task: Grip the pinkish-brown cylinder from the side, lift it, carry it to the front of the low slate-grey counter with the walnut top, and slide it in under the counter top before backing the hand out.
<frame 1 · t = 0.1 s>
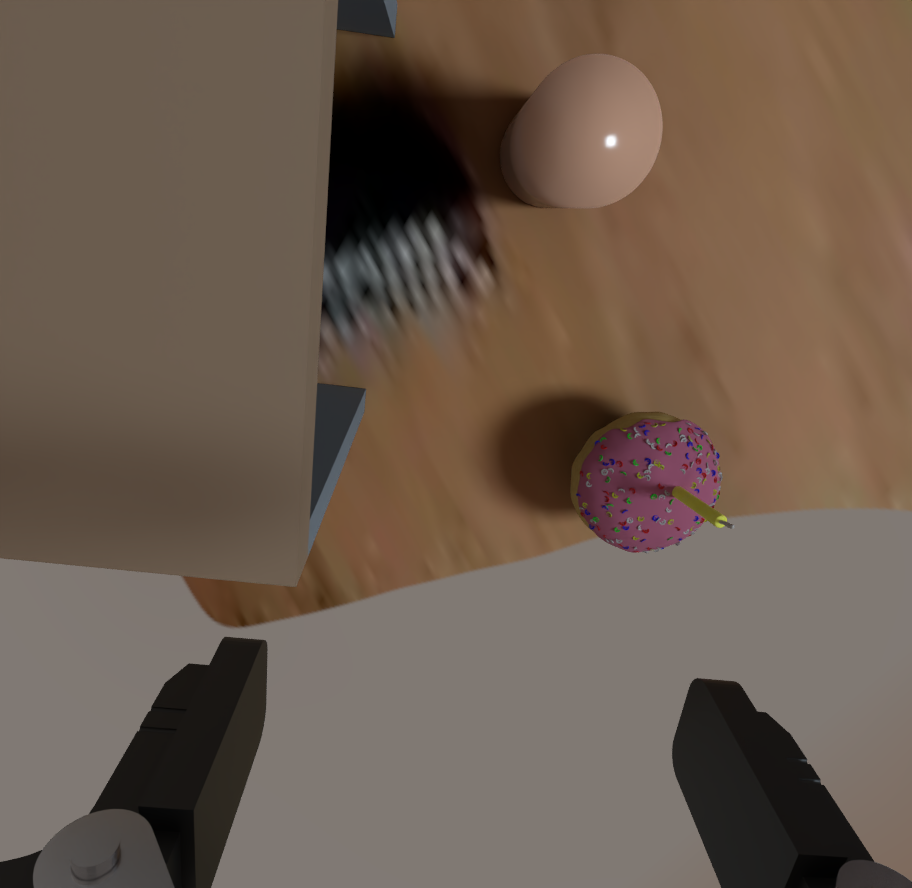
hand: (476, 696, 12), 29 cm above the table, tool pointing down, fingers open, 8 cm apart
cupcake: (624, 455, 42), on the table
counter: (290, 216, 37), on the table
pinkish-brown cylinder: (549, 155, 36), on the table
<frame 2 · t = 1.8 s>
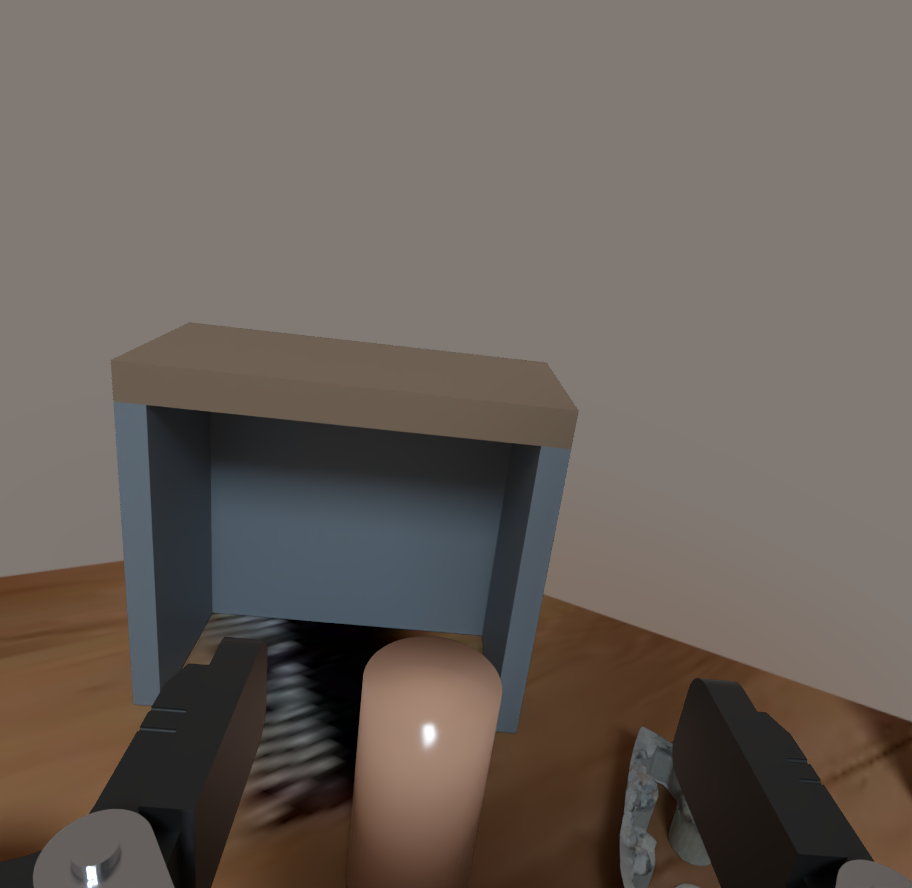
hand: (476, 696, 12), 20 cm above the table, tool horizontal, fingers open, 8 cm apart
egg carton: (687, 879, 31), on the table
counter: (340, 661, 42), on the table
pinkish-brown cylinder: (407, 875, 29), on the table
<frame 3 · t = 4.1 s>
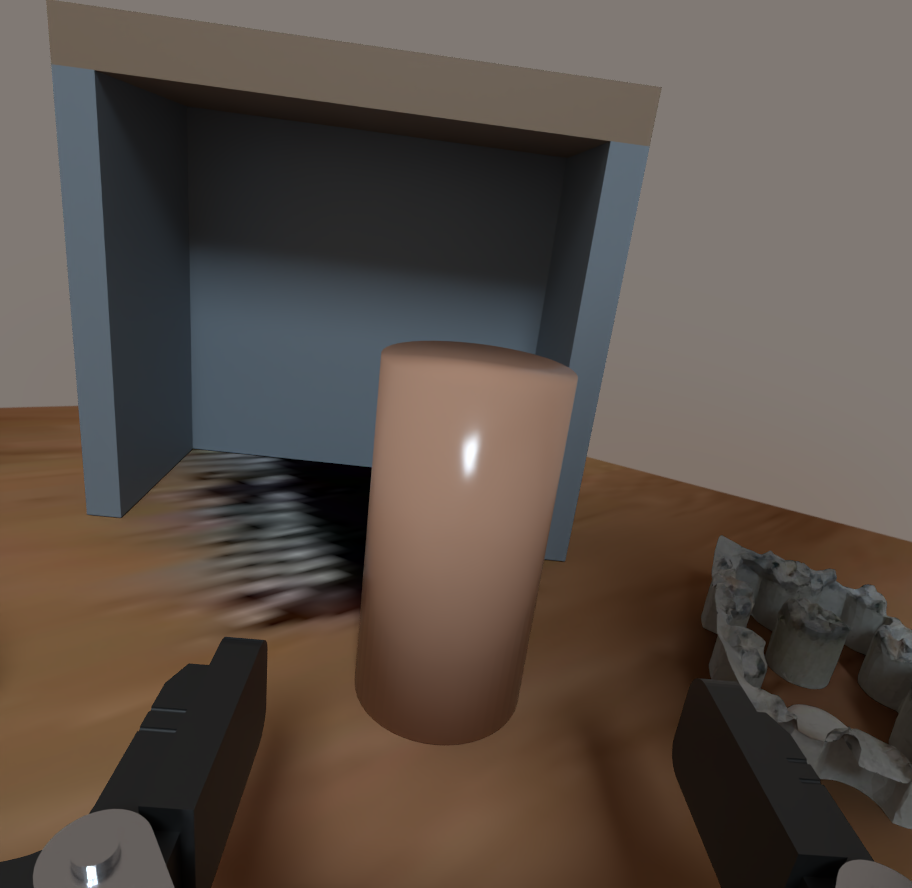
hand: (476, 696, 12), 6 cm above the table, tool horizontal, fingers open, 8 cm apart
egg carton: (798, 705, 24), on the table
counter: (346, 493, 35), on the table
pinkish-brown cylinder: (437, 681, 22), on the table
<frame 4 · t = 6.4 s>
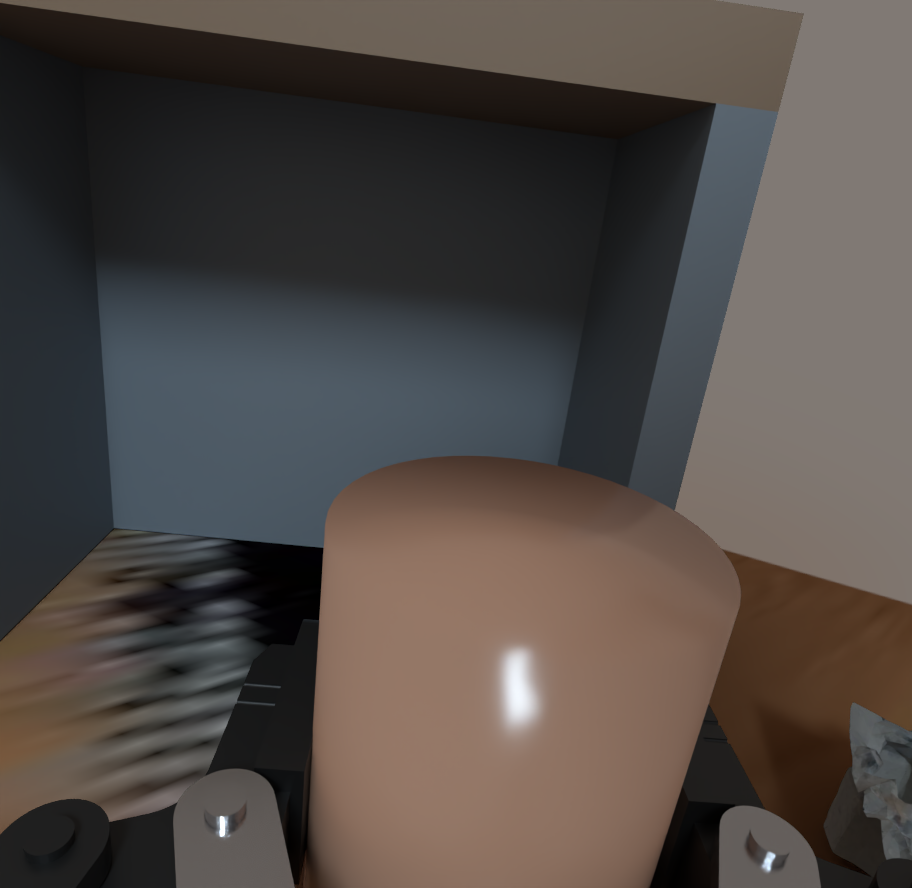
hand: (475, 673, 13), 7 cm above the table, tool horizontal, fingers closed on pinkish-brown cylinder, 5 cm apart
counter: (313, 599, 25), on the table
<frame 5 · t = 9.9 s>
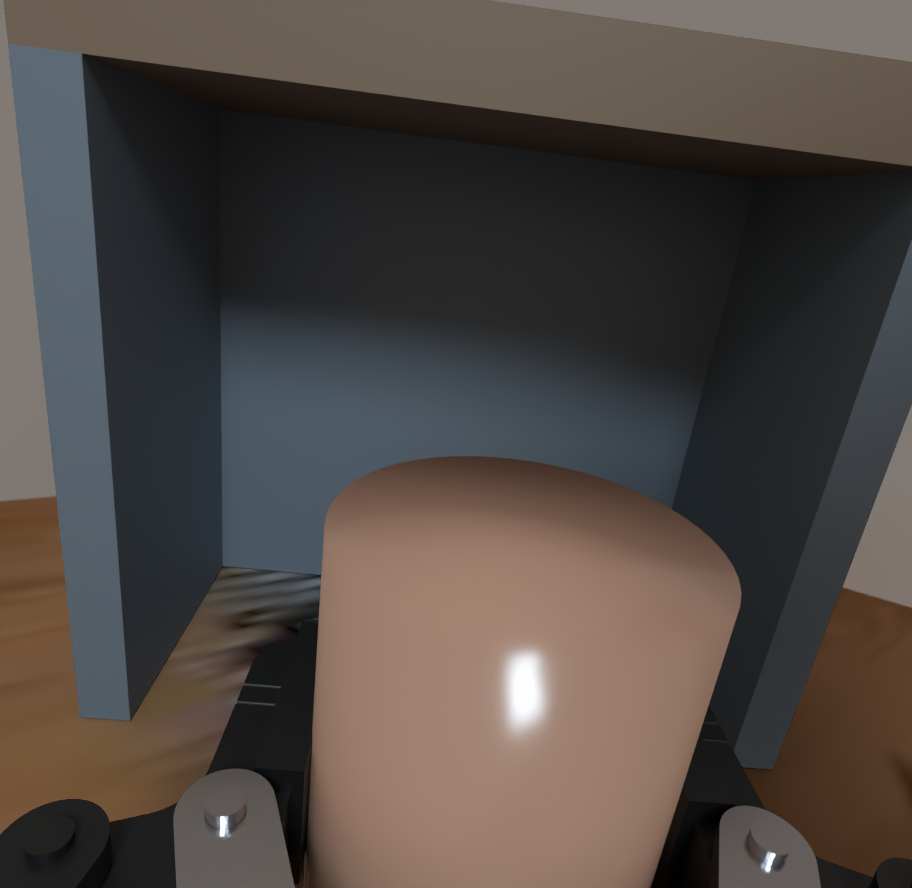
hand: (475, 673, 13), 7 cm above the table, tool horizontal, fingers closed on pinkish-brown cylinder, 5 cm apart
counter: (438, 643, 25), on the table
when the fingers open (7 cm above the table, at t = 13.3 s): pinkish-brown cylinder stays where it is, on the table.
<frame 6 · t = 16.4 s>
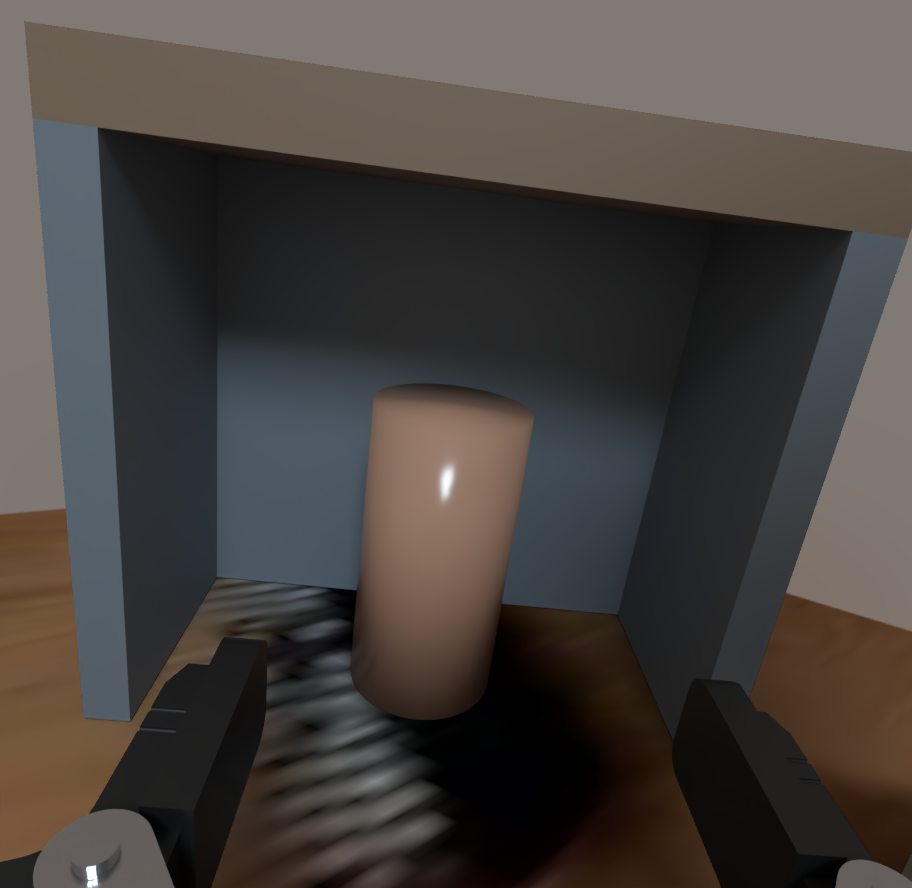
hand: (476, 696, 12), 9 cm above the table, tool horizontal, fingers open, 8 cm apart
counter: (418, 650, 27), on the table
pinkish-brown cylinder: (420, 668, 26), on the table
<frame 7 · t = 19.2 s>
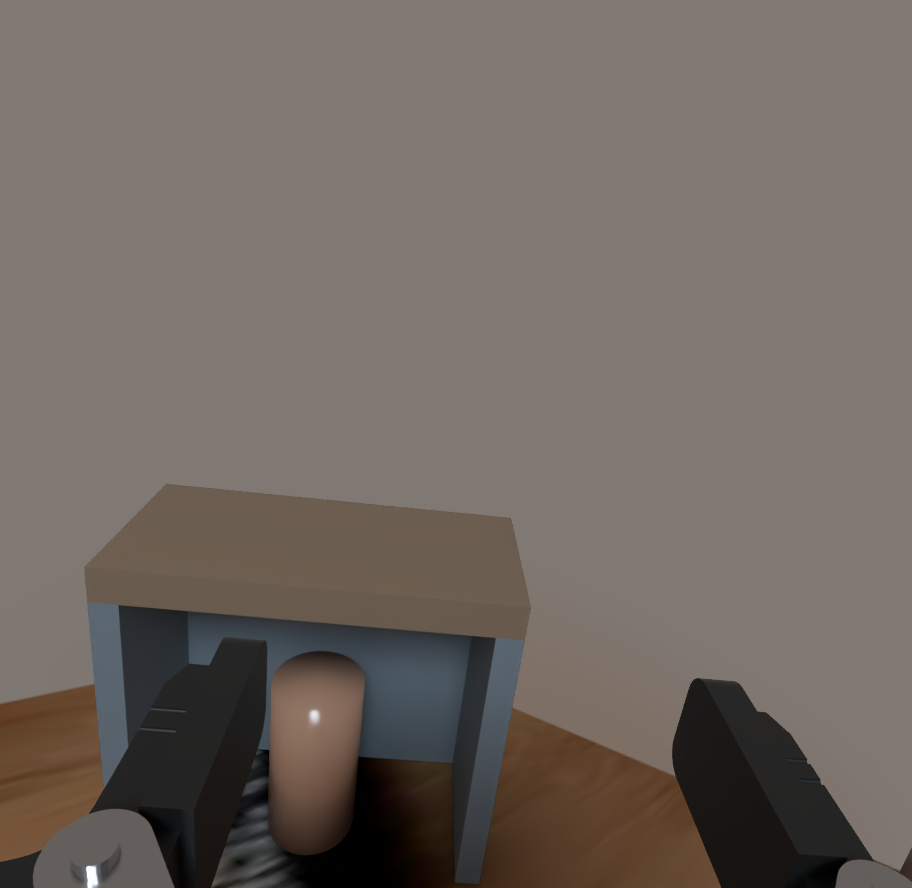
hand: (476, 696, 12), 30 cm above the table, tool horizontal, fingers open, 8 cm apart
counter: (313, 801, 44), on the table
pinkish-brown cylinder: (311, 815, 43), on the table
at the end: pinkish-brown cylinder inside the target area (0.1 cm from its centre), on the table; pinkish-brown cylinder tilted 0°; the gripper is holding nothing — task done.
